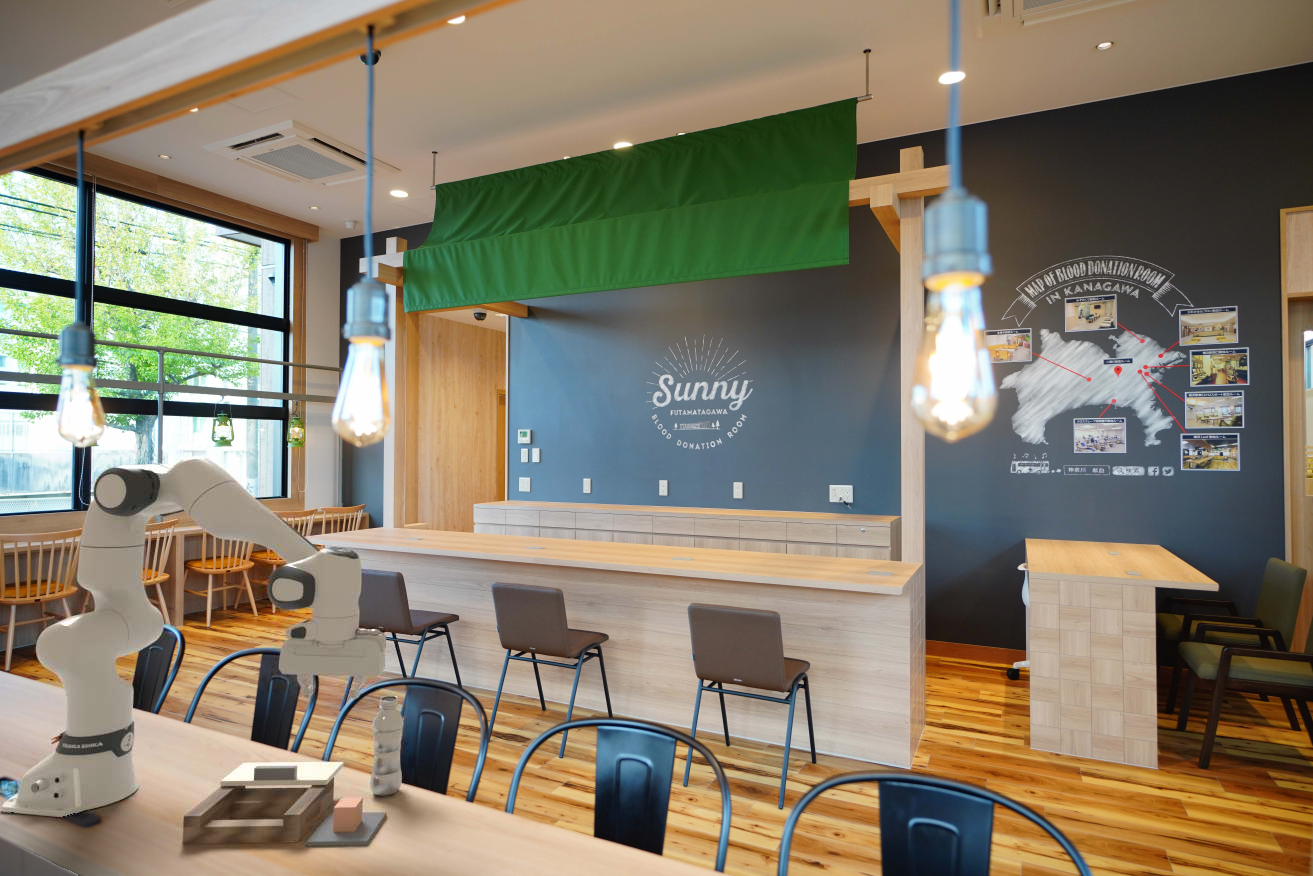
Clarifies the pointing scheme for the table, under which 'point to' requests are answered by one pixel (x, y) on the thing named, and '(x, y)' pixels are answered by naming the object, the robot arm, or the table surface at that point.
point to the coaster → (357, 837)
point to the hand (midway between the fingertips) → (330, 696)
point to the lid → (282, 774)
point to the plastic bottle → (387, 748)
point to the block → (347, 814)
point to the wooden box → (256, 814)
